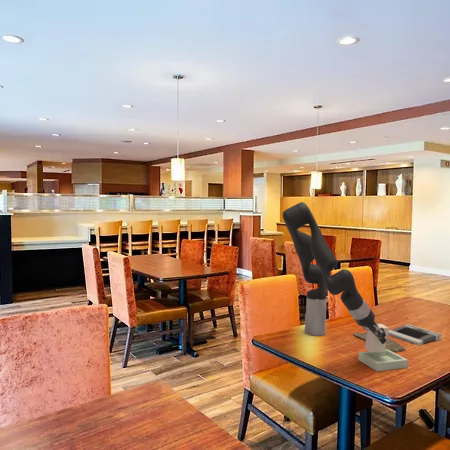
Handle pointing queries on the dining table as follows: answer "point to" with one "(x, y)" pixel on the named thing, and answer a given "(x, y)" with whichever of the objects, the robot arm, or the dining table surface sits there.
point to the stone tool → (389, 343)
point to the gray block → (376, 340)
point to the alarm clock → (414, 334)
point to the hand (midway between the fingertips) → (380, 339)
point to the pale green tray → (383, 360)
